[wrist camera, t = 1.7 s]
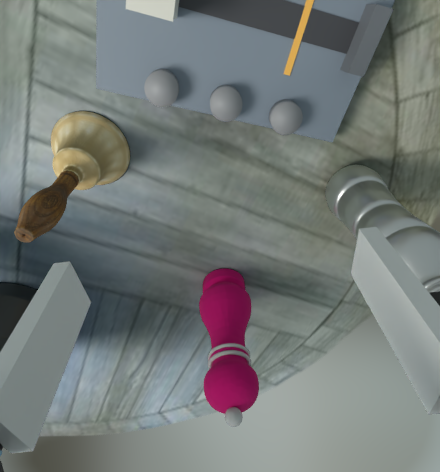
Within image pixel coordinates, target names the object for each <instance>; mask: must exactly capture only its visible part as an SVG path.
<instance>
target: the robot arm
mask: <svg viewBox="0 0 440 472" xmlns="http://www.w3.org/2000/svg"><path fill="white" fill-rule="evenodd" d="M351 275H352V277H353V279H354V281H355V283H356V284H357V286H358V288H359V290H360V292H361V293H362V295H363V297H364V299H365V301H366V302H367V304H368V306H369V308H370V310H371V312H372V313H373V315H374V316H375V319H376V321H377V322H378V324H379V326H380V328H381V329H382V331H383V333H384V335H385V337H386V338H387V340H388V342H389V344H390V346H391V348H392V349H393V351H394V353H395V355H396V357H397V358H398V360H399V362H400V364H401V366H402V367H403V369H404V371H405V373H406V375H407V376H408V378H409V380H410V382H411V384H412V385H413V387H414V389H415V391H416V393H417V394H418V396H419V398H420V400H421V402H422V404H423V405H424V407H425V409H426V411H427V413H428V414H429V415H430V414H440V291H439V292H428V291H427V290H426V288H425V287H424V286H423V285H422V283H421V282H420V281H419V280H418V278H417V277H416V276H415V274H414V273H413V272H412V271H411V269H410V268H409V267H408V266H407V264H406V263H405V262H404V261H403V259H402V258H401V257H400V256H399V254H398V253H397V252H396V251H395V249H394V248H393V247H392V246H391V244H390V243H389V242H388V241H387V239H386V238H385V237H384V235H383V234H382V233H381V232H380V230H379V229H378V228H377V227H370V228H361V229H359V232H358V238H357V243H356V249H355V254H354V260H353V265H352V271H351ZM90 304H91V301H90V299H89V297H88V295H87V293H86V291H85V290H84V288H83V286H82V284H81V282H80V280H79V278H78V276H77V274H76V272H75V270H74V268H73V266H72V264H71V262H70V261H69V262H61V263H54V264H53V265H52V267H51V269H50V270H49V272H48V274H47V275H46V277H45V279H44V280H43V282H42V284H41V285H40V287H39V289H38V290H35V289H32V288H29V287H26V286H22V285H17V284H10V283H0V456H1V454H2V448H3V447H4V448H5V449H6V450H8V451H9V452H10V453H19V452H29V451H33V450H34V447H35V445H36V442H37V440H38V437H39V435H40V432H41V429H42V427H43V424H44V422H45V419H46V417H47V414H48V412H49V409H50V406H51V404H52V401H53V399H54V396H55V394H56V391H57V389H58V386H59V383H60V381H61V378H62V376H63V373H64V371H65V368H66V366H67V363H68V360H69V358H70V355H71V353H72V350H73V348H74V345H75V343H76V340H77V337H78V335H79V332H80V330H81V327H82V325H83V322H84V320H85V317H86V314H87V312H88V309H89V307H90ZM0 472H4V471H3V467H2V463H1V461H0Z"/></svg>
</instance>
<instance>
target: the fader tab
mask: <svg viewBox="0 0 440 472" xmlns="http://www.w3.org/2000/svg"><path fill="white" fill-rule="evenodd" d="M178 6H179V0H126V9H128V10H132V11H135V12H139V13H143V14H146V15H150V16H154V17H157V18H161V19H165V20H168V21H172V22H174V19H177V14H178Z"/></svg>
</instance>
